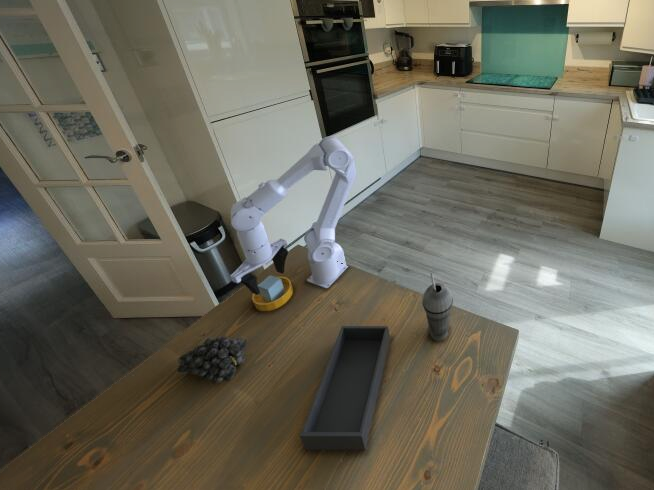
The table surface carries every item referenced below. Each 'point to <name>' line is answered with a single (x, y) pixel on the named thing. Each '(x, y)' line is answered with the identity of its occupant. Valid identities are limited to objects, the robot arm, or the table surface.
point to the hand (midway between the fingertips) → (268, 282)
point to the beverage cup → (437, 309)
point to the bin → (347, 391)
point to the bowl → (268, 306)
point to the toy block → (271, 288)
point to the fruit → (214, 359)
